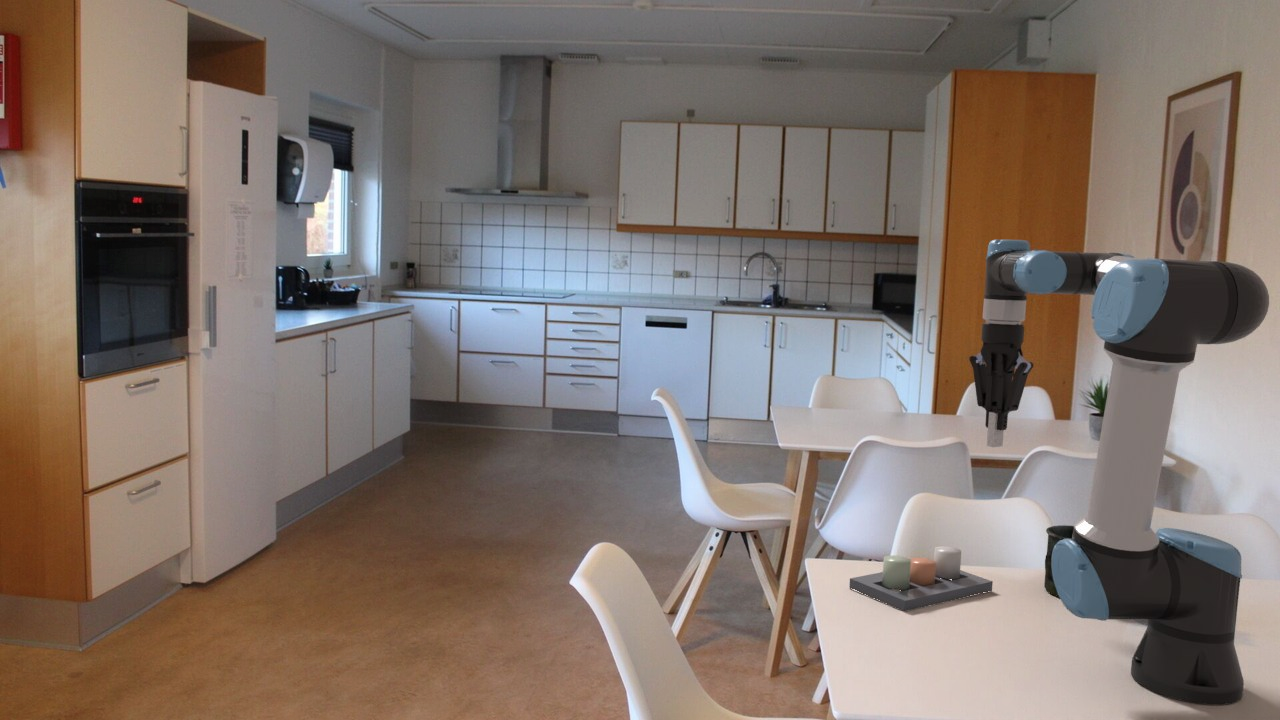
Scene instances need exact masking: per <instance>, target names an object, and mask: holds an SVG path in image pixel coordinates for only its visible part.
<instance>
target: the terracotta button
mask: <svg viewBox="0 0 1280 720" xmlns="http://www.w3.org/2000/svg"><path fill="white" fill-rule="evenodd" d="M909 559H910V560H911V569H910V582H911V583H914V584H917V585H919V586H922V587H924V586H929V585H934V584H935V574H936V562H935V561H934V559H931V558H927V557H912V558H909Z"/></svg>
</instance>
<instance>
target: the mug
mask: <svg viewBox="0 0 1280 720" xmlns="http://www.w3.org/2000/svg"><path fill="white" fill-rule="evenodd" d="M1073 529H1074V525H1066V524H1064V525H1062V524H1061V525H1052V526H1048V527H1047V528H1046V529H1045V530H1046V532H1045V533H1046V534H1047V547H1046V555H1045V559H1044V570H1045V572H1044V573H1045V575H1044V584H1043V585H1044V589H1045V590H1046V592H1047V593H1049V594H1050V595H1052V596H1054V597H1058V598H1060V597H1059V595H1058V592H1057V590H1056V587H1055V584H1054V580H1053V575H1052V565H1051V563H1052V552H1053V549H1054V546H1055V545H1056V544H1057V543H1058V542H1059V541H1060V540H1064V539H1072V535H1073Z"/></svg>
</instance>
